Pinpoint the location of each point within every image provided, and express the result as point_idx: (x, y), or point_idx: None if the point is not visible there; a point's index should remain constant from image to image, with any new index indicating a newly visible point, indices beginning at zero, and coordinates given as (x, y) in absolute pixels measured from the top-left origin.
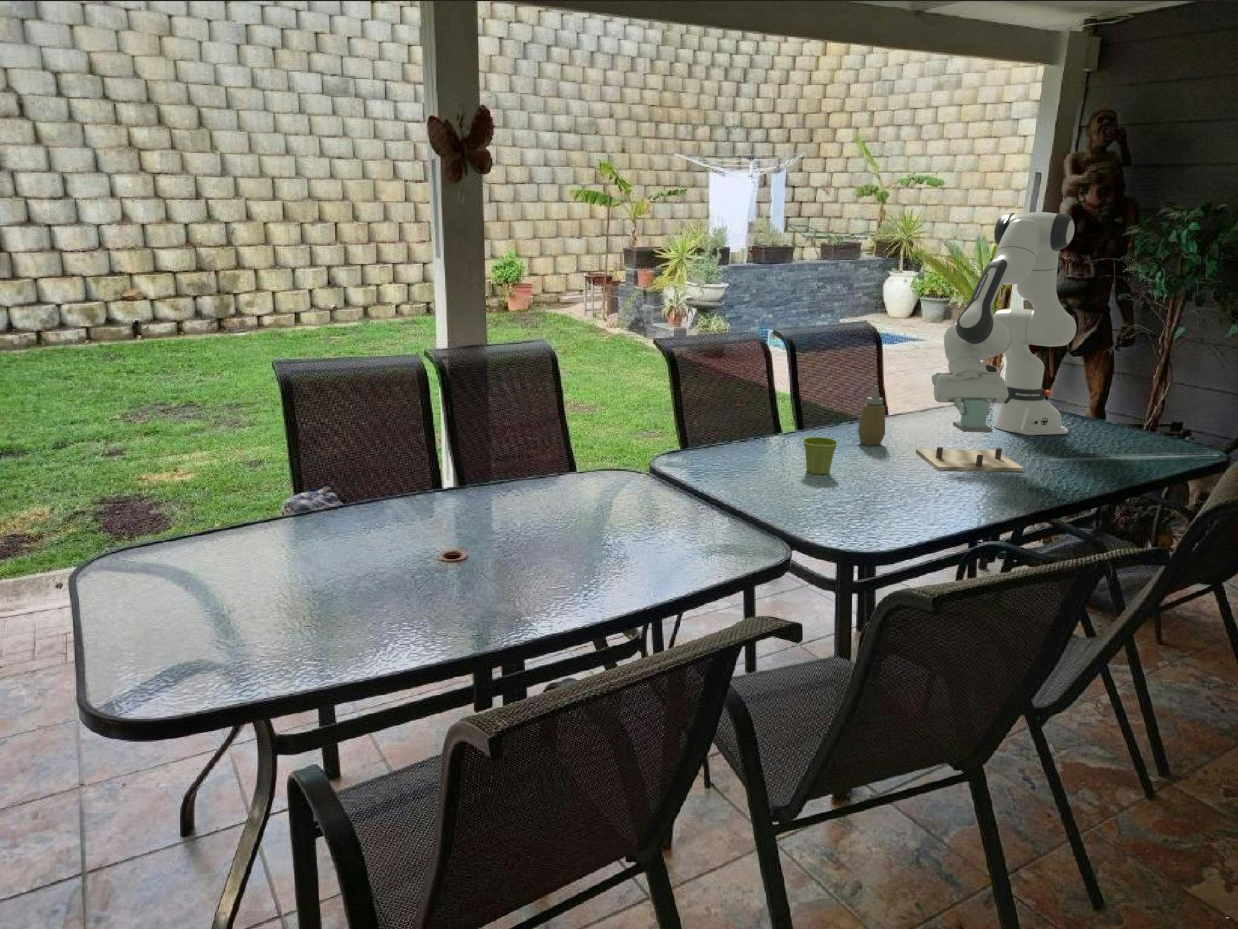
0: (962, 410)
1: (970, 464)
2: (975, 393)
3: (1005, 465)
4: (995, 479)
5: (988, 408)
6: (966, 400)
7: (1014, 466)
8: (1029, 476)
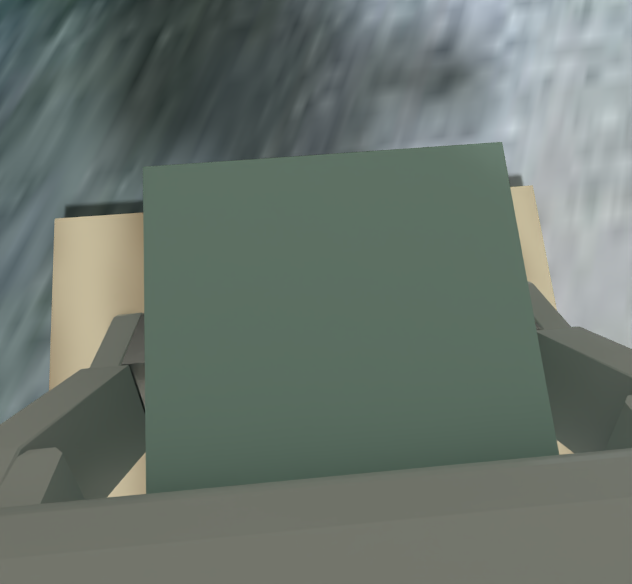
0: (532, 286)
1: None
2: (323, 572)
3: (143, 252)
4: (272, 80)
5: (110, 348)
6: (540, 361)
7: (98, 238)
8: (76, 143)
